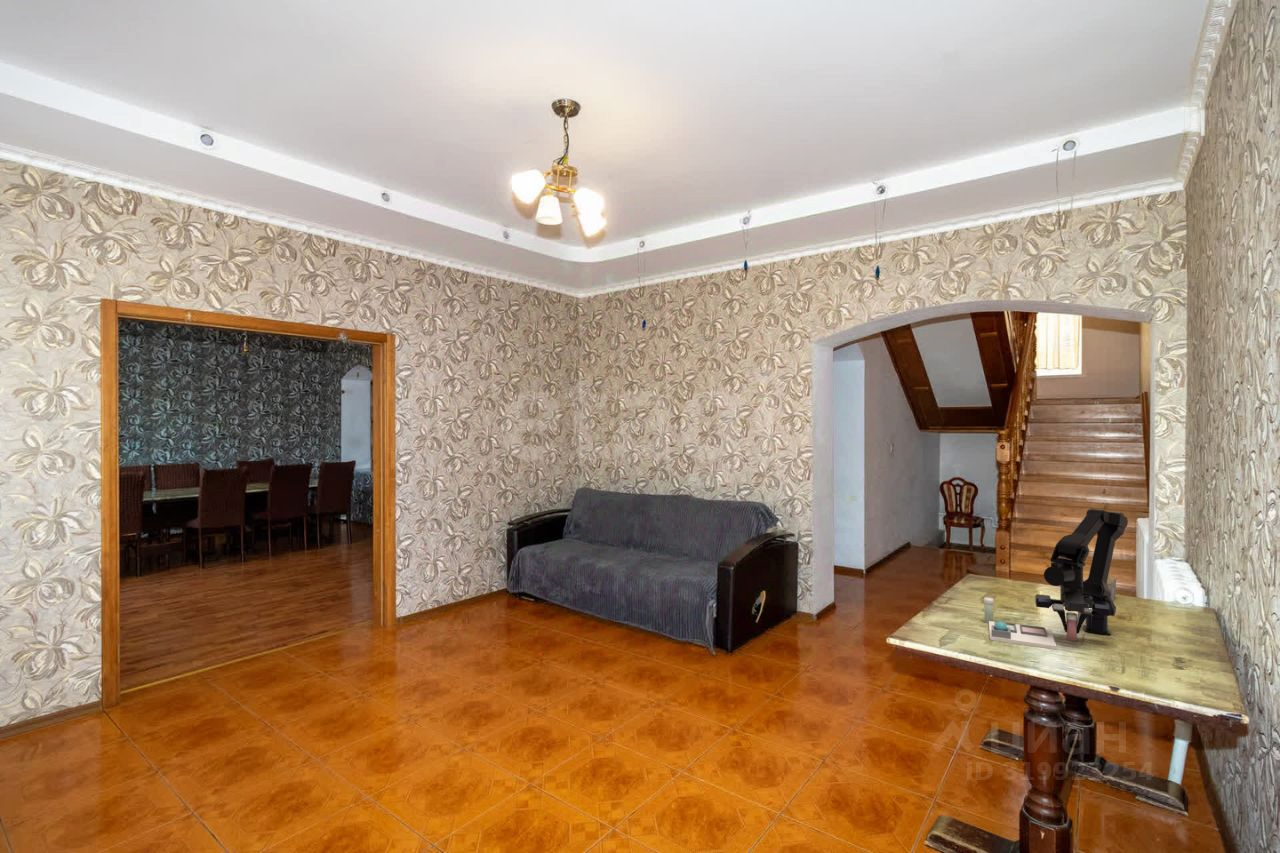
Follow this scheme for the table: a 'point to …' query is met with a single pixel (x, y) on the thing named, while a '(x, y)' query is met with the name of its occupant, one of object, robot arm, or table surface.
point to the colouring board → (1023, 635)
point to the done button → (1000, 626)
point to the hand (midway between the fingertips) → (1071, 632)
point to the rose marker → (1071, 626)
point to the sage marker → (988, 609)
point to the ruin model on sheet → (1112, 586)
